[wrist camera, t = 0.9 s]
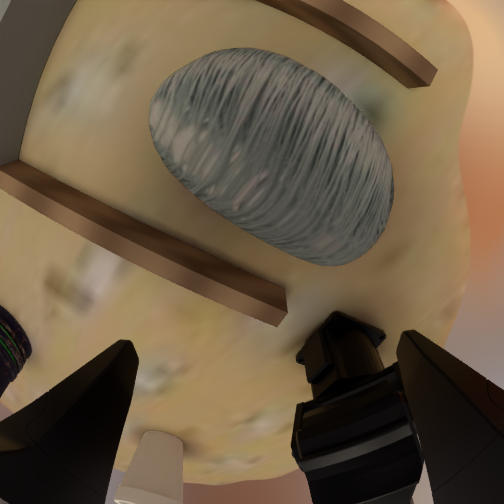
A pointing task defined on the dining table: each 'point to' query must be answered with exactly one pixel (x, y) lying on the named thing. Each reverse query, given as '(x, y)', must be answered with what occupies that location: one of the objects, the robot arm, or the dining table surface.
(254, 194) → the spool
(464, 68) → the dining table surface
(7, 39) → the end stop
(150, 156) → the dining table surface
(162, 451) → the foam cup
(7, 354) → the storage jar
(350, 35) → the guide rails
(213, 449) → the dining table surface
